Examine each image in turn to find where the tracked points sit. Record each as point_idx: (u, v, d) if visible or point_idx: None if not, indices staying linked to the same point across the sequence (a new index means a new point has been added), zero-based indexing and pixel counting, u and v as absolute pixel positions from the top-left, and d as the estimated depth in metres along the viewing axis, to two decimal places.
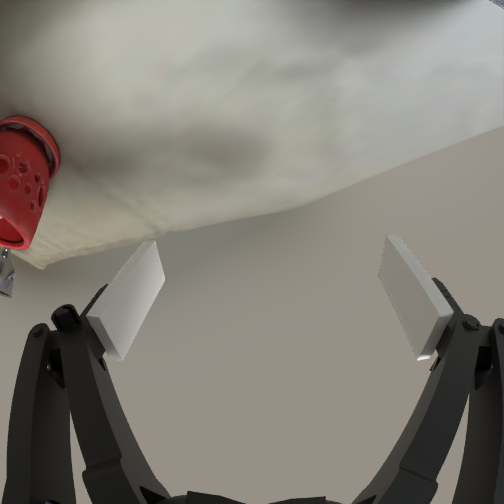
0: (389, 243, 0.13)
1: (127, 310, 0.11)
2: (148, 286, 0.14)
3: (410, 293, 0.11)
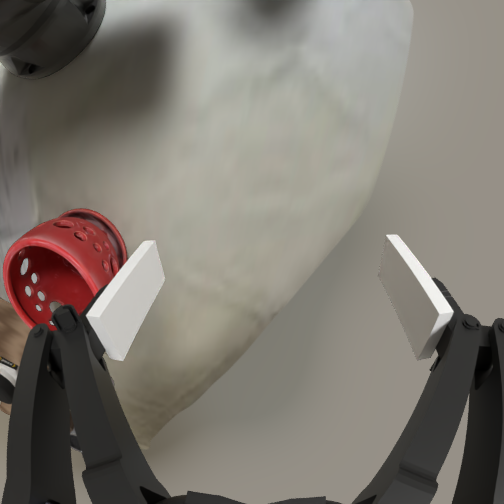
0: (389, 243, 0.13)
1: (127, 310, 0.11)
2: (148, 286, 0.14)
3: (410, 293, 0.11)
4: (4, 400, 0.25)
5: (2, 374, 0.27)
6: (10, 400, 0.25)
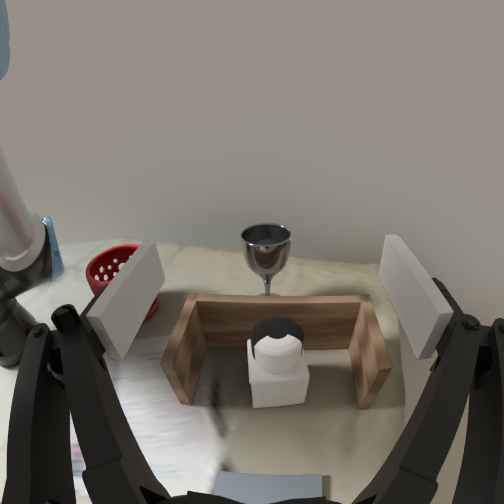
0: (389, 243, 0.13)
1: (127, 310, 0.11)
2: (148, 286, 0.14)
3: (410, 293, 0.11)
4: (280, 323, 0.30)
5: None
6: None
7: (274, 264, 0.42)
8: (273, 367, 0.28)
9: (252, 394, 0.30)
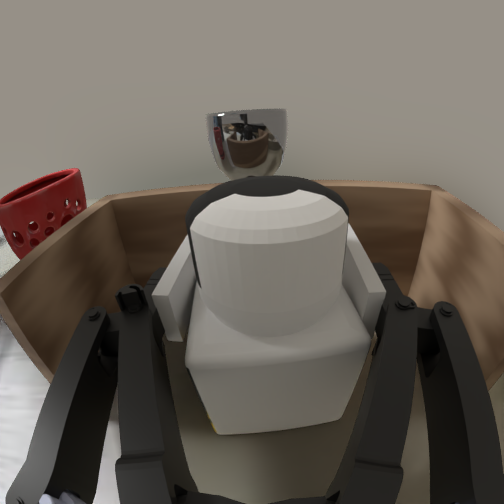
0: None
1: (186, 291, 0.13)
2: None
3: (351, 275, 0.12)
4: (276, 178, 0.11)
5: None
6: None
7: (261, 149, 0.23)
8: (255, 303, 0.08)
9: (204, 401, 0.10)
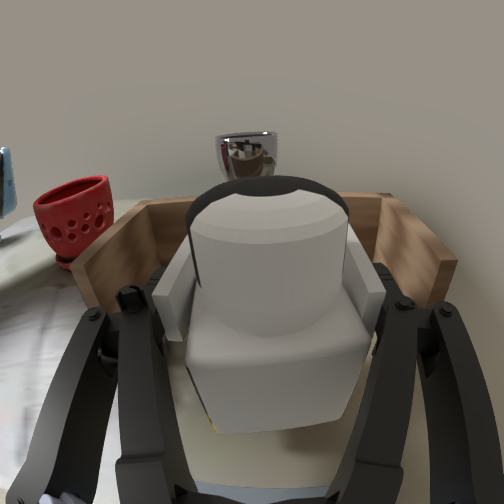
0: None
1: (186, 291, 0.13)
2: None
3: (351, 275, 0.12)
4: (276, 178, 0.11)
5: None
6: None
7: (257, 167, 0.31)
8: (255, 303, 0.08)
9: (204, 401, 0.10)
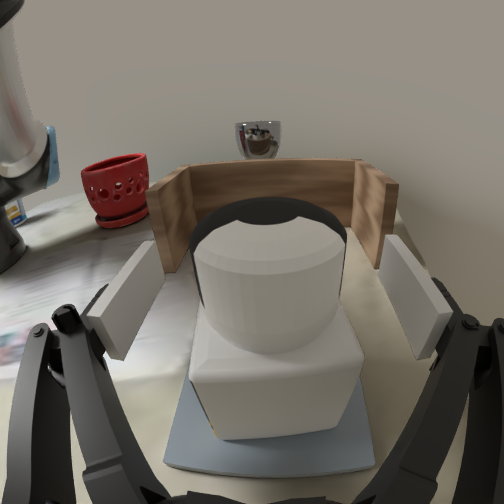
0: (388, 242, 0.13)
1: (127, 310, 0.11)
2: (148, 286, 0.14)
3: (410, 292, 0.11)
4: (277, 201, 0.11)
5: None
6: None
7: (266, 144, 0.41)
8: (254, 326, 0.09)
9: (207, 410, 0.11)
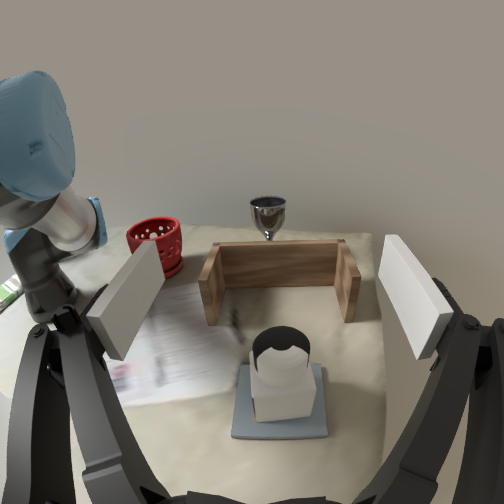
0: (389, 243, 0.13)
1: (127, 310, 0.11)
2: (148, 286, 0.14)
3: (410, 293, 0.11)
4: (285, 333, 0.28)
5: None
6: (281, 326, 0.29)
7: (274, 222, 0.58)
8: (277, 380, 0.26)
9: (255, 408, 0.27)
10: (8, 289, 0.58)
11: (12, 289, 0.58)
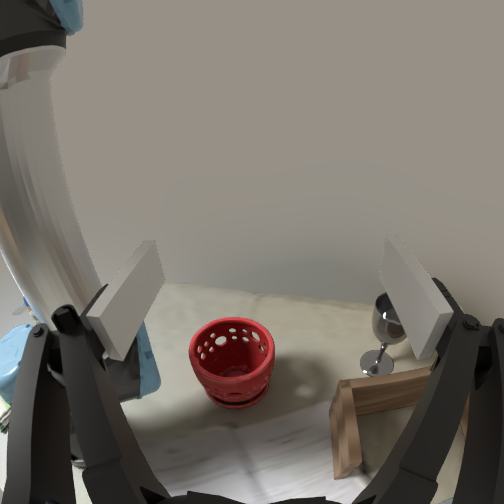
0: (389, 243, 0.13)
1: (127, 310, 0.11)
2: (148, 286, 0.14)
3: (410, 293, 0.11)
4: None
5: None
6: None
7: (406, 336, 0.37)
8: None
9: None
10: None
11: None
